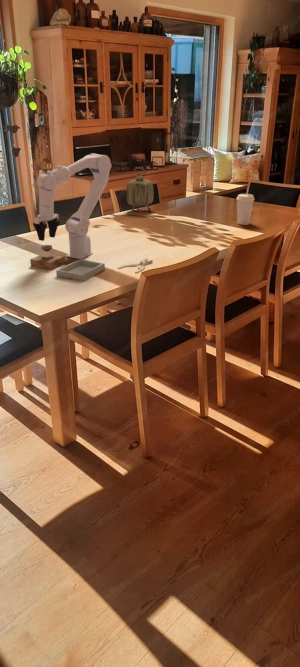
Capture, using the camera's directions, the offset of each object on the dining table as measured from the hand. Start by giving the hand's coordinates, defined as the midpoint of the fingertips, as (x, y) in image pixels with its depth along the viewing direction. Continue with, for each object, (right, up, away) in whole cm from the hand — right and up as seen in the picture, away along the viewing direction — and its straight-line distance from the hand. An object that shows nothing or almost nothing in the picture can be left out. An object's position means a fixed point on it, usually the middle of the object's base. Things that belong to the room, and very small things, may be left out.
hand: (46, 238), depth 206 cm
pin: (0, -11, +1) cm, 11 cm away
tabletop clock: (+36, +34, +92) cm, 105 cm away
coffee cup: (+94, +21, +66) cm, 116 cm away
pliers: (+38, -12, 0) cm, 40 cm away
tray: (+15, -15, -8) cm, 23 cm away
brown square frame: (0, -11, +1) cm, 11 cm away
